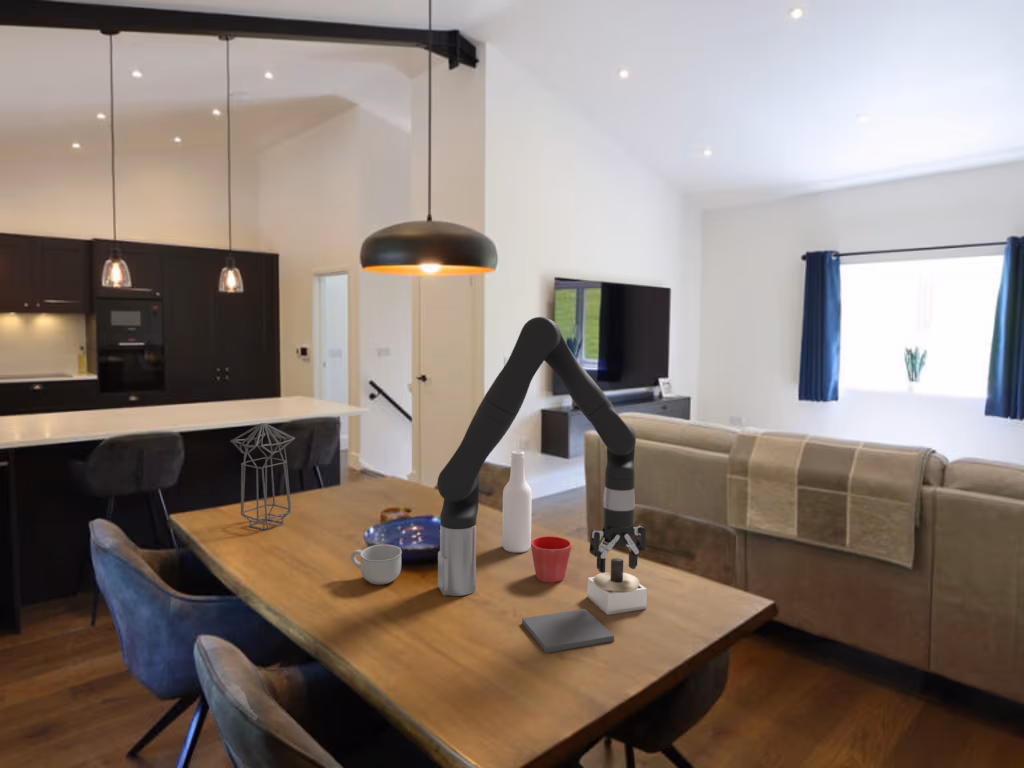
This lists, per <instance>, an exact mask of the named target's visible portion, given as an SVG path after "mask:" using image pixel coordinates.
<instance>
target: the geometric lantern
mask: <svg viewBox="0 0 1024 768" xmlns="http://www.w3.org/2000/svg"><path fill="white" fill-rule="evenodd" d="M248 433H250V434H249V435H248V436H247V437H246V438H242V437H244V436H245V435H247V434H248ZM282 435H283V436H282ZM255 436H256V437H255ZM265 436H266V437H267V440H268V443H266V444H263V440H264V438H265ZM260 437H261V438H260ZM270 437H271V439H273V441H274V442H275V443H272V442H271V439H270ZM240 438H241V439H240ZM278 439H279V440H278ZM295 439H296V437H294V436H293V435H290V434H288V433H286V432H285V431H282V430H280V429H278V428H276V427H274V426H272V425H270V424H268V423H267V422H265V423H264V422H260V423H259V424H256V425H254V426H253V427H252V428H250V429H248V430H246V431H245V432H243V433H242V434H240V435H238V436H236V437H235V438H233V439H230V441H229V443H232V444H233V445H234V446H235V447H236V448H237V450H238V451H239V452H240V454H243V462H241V463H240V465H241V466H240V468H241V470H240V471H241V472H240V474H241V475H240V476H241V477H240V485H241V486H240V516H242V517H243V518H244V519H246V520H247V521H248V522H249V527H250V528H255V529H259V530H262V531H265V530H270V529H273V528H276V527H279V526H283V525H285V523H284V518H286V517H287V516H288V515H290V514H291V512H292V507H291V506H292V504H291V503H292V502H291V494H290V481H289V470H288V460H287V453H286V447H288V445H289V444H291V443H292V442H293V441H295ZM253 440H254V444H250V442H252V441H253ZM281 440H283V441H282V442H281ZM260 443H261V445H259V444H260ZM238 444H239V445H238ZM269 446H270V449H268V448H267V447H269ZM273 446H275V448H274V450H273ZM243 447H244V450H243V449H242V448H243ZM256 447H257V448H258V449H259V450H260V451H261V453H262V454H263V455H264V456H265V457H260V458H256V459H253V458H252V456H251V454H250V453H251V452H252V451H253V450H255V449H256ZM249 449H250V450H249ZM262 449H264V450H265V451H266V452H268V453H270V455H269V456H267V454H266V453H265V452H264V451H263V450H262ZM277 449H278V450H277ZM282 450H284V451H283V452H284V455H285V456H283V454H282ZM276 453H279V455H280V458H277V457H273V456H274V455H275V454H276ZM247 456H248V457H249V459H250V460H247V461H246V458H247ZM284 457H285V459H284ZM263 459H265V461H264V464H263V465H262V466H257V464H256V463H255V461H260V460H263ZM269 460H270V464H269V465H268V461H269ZM273 460H276V461H277V460H278V461H281V462H278V463H275V464H273ZM249 462H252V463H253V465H251V464H250V465H249V464H247V463H249ZM278 465H283V472H284V473H283V474H284V482H285V489H286V491H285V492H286V498H287V507H286V506H282V505H278V504H276V501H275V500H276V498H275V483H274V470H273V468H274V466H278ZM246 467H248V468H249V467H250V468H254V469H255V471H256V473H255V475H256V479H255V481H256V485H255V486H256V507H253V508H250V509H246V510H244V509H245V487H246V486H245V483H246ZM268 468H270V471H271V472H270V473H271V475H270V476H271V487H272V488H271V489H272V502H273V503H271V504H268V503H267V502H268V476H267V475H268ZM259 469H260V470H261V476H262V477H261V478H262V480H261V481H262V489H263V490H262V491H263V492H262V493H263V501H264V504H262V505H259ZM264 471H265V472H264ZM267 507H271V508H270V511H269V513H268V510H267V509H268V508H267ZM274 507H276V508H277V507H278V508H281V509H284V510H287V511H286V512H284V513H279V514H272V511H273V509H274ZM261 508H264V512H265V513H264V514H261V515H259V511H260V510H259V509H261ZM255 510H256V516H255V517H253V516H249V515H247V514H245V513H248V512H252V511H255ZM264 516H265V517H264ZM261 517H264V518H261ZM278 517H279V518H278ZM260 518H261V519H260ZM274 518H278V519H274ZM280 520H281V521H280ZM268 521H269V522H268ZM264 522H265V523H264ZM275 522H276V523H279V524H276V525H273V526H270V527H269V524H272V523H275ZM257 524H259V525H262V527H258V526H254V525H257ZM265 526H266V528H265Z"/></svg>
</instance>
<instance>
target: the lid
mask: <svg viewBox="0 0 1024 768" xmlns="http://www.w3.org/2000/svg"><path fill="white" fill-rule="evenodd" d="M593 577H594V583H595V585H596V586H597V587H599V588H601V589H603V590H606V591H610V592H619V593H623V592H631V591H634V590H636V589H638V588H639V583H640V580H639V578H638V577H636V576H634V575H633V574H631V573H627V572H624V559H621V558H619V557H616V558H615V557H614V558H611V559H610V571H605V573H601V572H600V573H598V574H596V575H594V576H593Z"/></svg>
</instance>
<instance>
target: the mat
mask: <svg viewBox="0 0 1024 768" xmlns="http://www.w3.org/2000/svg"><path fill="white" fill-rule="evenodd" d="M521 619H522V620H521V624H522V625H523V626H524V628H525V629H526V630H527V631H528V632H529V634H530V635H531V636H532V637H533V639H534V640H535V642H537V644H538V645H539V646H540V647H541V648H542V649H543V651H544V652H545V654H547V653H554V652H559V651H560V652H561V651H563V650H564V651H565V650H570V649H576V648H583V647H588V646H593V645H599V644H606V643H610V642H615V635H614V634H613V633H612V632H611V631H610V630H608V628H607V627H606V626H605V625H603V623H602V622H600V621H599V620H598V619H597V618H596V617H595V616H594V615H593V614H592V613H591V612H589V611H588V610H587V609H586V608H582V609H575V610H568V611H561V612H555V613H548V614H547V613H546V614H541V615H535V616H534V615H533V616H529V617H528V616H527V617H522V618H521Z"/></svg>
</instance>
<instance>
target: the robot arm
mask: <svg viewBox="0 0 1024 768" xmlns="http://www.w3.org/2000/svg"><path fill="white" fill-rule="evenodd" d="M543 362H545V363H546V364H547V365H548V366H550V368H551V369H552V370H553V372H554V373H555V374H556V375H557V377H558V378H559V380H560V381H561V383H562V384H563V386H564V388H565V389H566V392H567V393H568V395H569V396H570V398H571V399H572V401H573V402H574V404H575V405H576V406H577V408H579V411H581V413H582V414H583V415H584V417H585V418H586V419H587V421H588V422H590V424H591V425H592V426H593V428H594V429H595V431H596V433H597V434H598V437H599V438H600V440H601V441H602V442H603V443H604V445H605V446H606V467H605V475H604V492H603V501H602V503H603V504H602V505H603V508H602V510H603V511H602V514H603V515H602V523H603V527H602V530H595V529H592V530H590V539H589V553H590V554H591V555H592V556H594V557H595V558H596V568H597V569H596V570H598V571H599V572H600V573H605V572H606V556H607V555H608V553H609V552H611V551H612V549H613V548H619V547H627V548H628V549H629V552H628V568H630V569H631V570H635V569H636V567H637V566H638V556H639V555H638V554H639V553H640V552H645V550H646V528H645V527H643V526H642V525H640V524H636V525H635V526H634V524H635V506H636V505H635V503H636V500H635V499H636V496H635V466H634V462H635V461H634V460H635V451H636V450H635V449H636V442H637V440H636V439H637V437H636V432H635V430H634V428H633V427H632V426H631V425H629V423H626V422H625V421H624V420H623V418H621V416H620V415H619V414H618V413H617V411H616V409H615V406H614V405H613V403H612V401H610V399H609V397H607V395H606V394H605V393H604V391H603V390H602V389H601V388H600V387H599V385H598V384H597V383H596V382H595V380H594V379H593V378H592V377H591V375H589V373H588V372H587V370H586V369H585V368H584V367H583V365H581V363H580V362H579V361H578V359H577V358H576V356H575V354H574V353H573V352H572V350H571V349H570V347H569V345H568V343H567V342H566V340H565V338H564V336H563V334H562V332H561V330H560V327H559V326H558V324H557V323H556V322H555V321H554V320H552V319H550V318H548V317H544V316H537V317H533V318H531V319H529V320H528V321H526V322H525V323H524V325H523V326H522V328H521V330H520V333H519V335H518V338H517V340H516V342H515V344H514V347H513V349H512V351H511V353H510V356H509V357H508V360H507V362H506V363H505V365H504V367H503V368H502V369H501V371H500V372H499V373H498V375H497V376H496V378H494V381H493V382H492V384H490V385H491V386H490V387H489V388H488V390H487V391H486V393H485V395H484V397H483V399H482V400H481V402H480V404H479V406H478V407H477V409H476V411H475V413H474V415H473V417H472V419H471V421H470V423H469V425H468V427H467V430H466V431H465V434H464V436H463V439H462V441H461V442H460V444H459V445H458V447H457V449H456V451H455V452H454V454H453V455H452V456H451V458H450V459H449V460H448V461H447V463H446V465H445V466H444V467H443V468H442V470H441V471H440V472H439V475H438V477H437V481H436V482H437V490H438V493H439V495H440V496H441V498H442V499H443V504H442V507H441V508H442V509H441V511H440V516H439V517H440V518H439V521H440V522H439V523H440V524H439V525H440V527H439V528H440V529H439V532H440V533H439V541H440V542H439V545H440V547H439V551H437V587H438V589H439V590H440V592H441V594H442V596H453V597H460V596H467V595H470V594H472V593H474V592H475V591H476V587H477V578H476V577H477V517H478V512H479V496H480V493H479V492H480V475H479V473H480V471H481V469H482V467H483V464H484V463H485V461H486V460H487V458H489V455H490V454H491V453H492V452H493V450H494V449H495V448H496V447H497V446H498V444H499V443H500V442H501V440H503V438H504V436H505V435H506V434H507V432H508V431H509V430H510V428H511V426H512V424H513V422H514V421H515V419H516V417H517V415H518V414H519V412H520V411H521V408H522V406H523V403H524V401H525V399H526V396H527V393H528V391H529V388H530V385H531V382H532V381H533V379H534V376H535V375H536V373H537V371H538V370H539V369H540V367H541V365H542V364H543ZM634 535H635V542H634V541H633V539H632V537H633V536H634ZM602 537H603V539H602ZM601 540H602V541H601ZM600 541H601V542H600Z"/></svg>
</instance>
